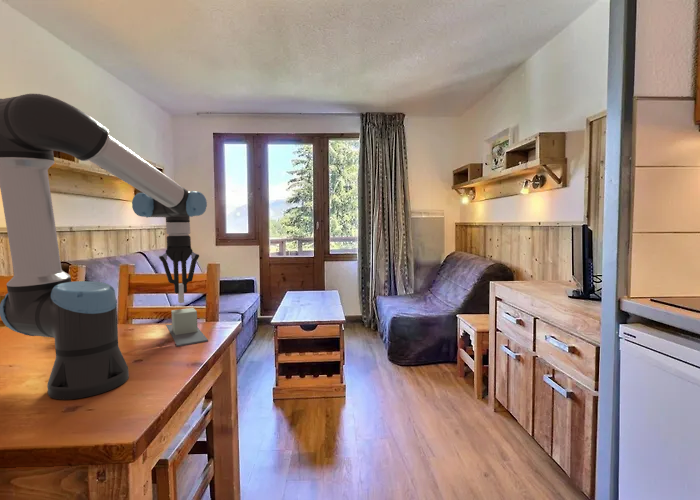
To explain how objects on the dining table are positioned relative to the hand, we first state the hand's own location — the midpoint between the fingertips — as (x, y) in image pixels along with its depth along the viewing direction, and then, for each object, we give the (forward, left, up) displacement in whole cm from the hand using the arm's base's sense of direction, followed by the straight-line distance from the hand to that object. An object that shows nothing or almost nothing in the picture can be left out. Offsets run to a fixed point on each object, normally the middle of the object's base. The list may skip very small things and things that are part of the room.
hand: (181, 302), depth 128 cm
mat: (-5, 0, -10) cm, 11 cm away
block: (-1, 0, -6) cm, 6 cm away
